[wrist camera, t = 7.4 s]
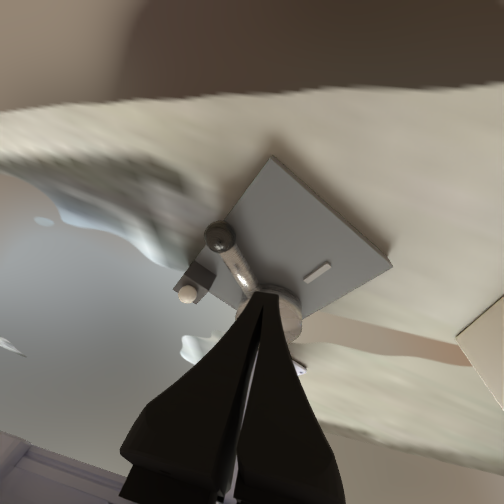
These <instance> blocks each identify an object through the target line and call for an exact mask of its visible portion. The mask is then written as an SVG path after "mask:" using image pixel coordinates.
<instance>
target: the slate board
mask: <svg viewBox="0 0 504 504" xmlns="http://www.w3.org/2000/svg"><path fill="white" fill-rule="evenodd" d="M224 221H225V222H227V223H229V224H230V225H232V226H233V228H234V229H235V231H236V236H237V239H236V244H237V246H238V247H239V249H240V251H241V253H242V254H243V256H244V258H245V260H246V261H247V263H248V265H249V266H250V268H251V270H252V272H253V273H254V275H255V277H256V278H257V280H258V282H259V284H272V285H277V286H280V287H283V288H285V289H287V290H289V291H291V292H292V293H293V294H294V295H295V296H296V297H297V298H298V299H299V301H300V303H301V306H302V319H304V318H306V317H307V316H309V315H311V314H313V313H314V312H316V311H318V310H320V309H321V308H323V307H325V306H327V305H328V304H330V303H332V302H334V301H335V300H337V299H339V298H340V297H342V296H344V295H346V294H347V293H349V292H351V291H353V290H354V289H356V288H358V287H360V286H361V285H363V284H365V283H366V282H368V281H370V280H372V279H373V278H375V277H377V276H379V275H380V274H382V273H384V272H385V271H387V270H389V269H391V268H392V267H393V265H392V264H391V262H390V260H389V259H388V257H387V256H386V255H385V254H383V253H382V252H381V251H380V250H379V249H378V248H377V247H376V246H374V245H373V244H372V243H371V242H370V241H369V240H368V239H367V238H365V237H364V236H363V235H362V234H361V233H360V232H359V231H358V230H356V229H355V228H354V227H353V226H352V225H351V224H350V223H349V222H347V221H346V220H345V219H344V218H343V217H342V216H341V215H339V214H338V213H337V212H336V211H335V210H334V209H333V208H332V207H330V206H329V205H328V204H327V203H326V202H325V201H324V200H323V199H321V198H320V197H319V196H318V195H317V194H316V193H315V192H314V191H312V190H311V189H310V188H309V187H308V186H307V185H306V184H305V183H303V182H302V181H301V180H300V179H299V178H298V177H297V176H296V175H294V174H293V173H292V172H291V171H290V170H289V169H288V168H287V167H285V166H284V165H283V164H282V163H281V162H280V161H279V160H278V159H276V158H275V157H274V156H273V155H272V156H271V157H270V159H269V160H268V161H267V163H266V164H265V165H264V167H263V168H262V169H261V171H260V172H259V174H258V175H257V176H256V178H255V179H254V180H253V182H252V183H251V184H250V186H249V187H248V188H247V190H246V191H245V192H244V194H243V195H242V197H241V198H240V199H239V201H238V202H237V203H236V205H235V206H234V207H233V209H232V210H231V211H230V213H229V214H228V215H227V217H226V218H225V220H224ZM195 261H196V262H198V263H199V264H200V265H202V266H203V267H205V268H206V269H208V270H209V271H211V272H212V273H214V274H215V275H217V277H216V279H215V280H214V282H213V284H212V286H211V288H210V290H209V291H208V292H210V293H211V294H213V295H214V296H216V297H218V298H219V299H220V300H222V301H223V302H225V303H227V304H228V305H230V306H231V307H233V308H234V309H236V310H238V307H239V304H240V301H241V298H242V295H243V293H244V292H243V290H242V289H241V287H240V286H239V284H238V283H237V281H236V280H235V278H234V276H233V275H232V273H231V272H230V270H229V269H228V267H227V266H226V264H225V263H224V261H223V259H222V258H221V256H220V255H219V253H216V252H213V251H212V250H210V249H209V248H208V247H207V245H205V247H204V248H203V249H202V251H201V252H200V253H199V255H198V256H197V257H196V259H195Z"/></svg>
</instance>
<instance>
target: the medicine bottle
mask: <svg viewBox="0 0 504 504" xmlns="http://www.w3.org/2000/svg"><path fill="white" fill-rule="evenodd" d="M455 341H456V342H457V344H458V345H459V347H460V348H461V350H462V351H463V352H464V354H465V355H466V357H467V358H468V360H469V361H470V363H471V364H472V366H473V367H474V368H475V370H476V371H477V373H478V374H479V376H480V377H481V379H482V380H483V382H484V383H485V385H486V386H487V387H488V389H489V390H490V392H491V393H492V395H493V396H494V398H495V399H496V401H497V402H498V403H499V405H500V406H501V408H502V409H503V411H504V297H502V298H501V299H500V300H499V301H498V302H496V303H495V304H494V305H493V306H492V307H491V308H489V309H488V310H487V311H486V312H485V313H484V314H483V315H481V316H480V317H479V318H478V319H477V320H476V321H474V322H473V323H472V324H471V325H470V326H469V327H467V328H466V329H465V330H464V331H463V332H462V333H461V334H459V335H458V336H457V337H456V338H455Z"/></svg>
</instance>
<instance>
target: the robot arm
mask: <svg viewBox="0 0 504 504" xmlns="http://www.w3.org/2000/svg"><path fill="white" fill-rule="evenodd" d="M259 344H260V345H259ZM258 347H259V350H258ZM306 372H307V369H306V368H304V367H303V366H301V365H300V364H298V363H297V362H295V361H293V360H292V358H291V355H290V352H289V349H288V345H287V342H286V338H285V334H284V330H283V326H282V321H281V315H280V308H279V295H278V294H272V293H265V292H259V291H255V292H253V294H252V296H251V298H250V300H249V302H248V303H247V305H246V307H245V308H244V310H243V311H242V313H241V314H240V315H239V317H238V318H237V320H236V321H235V322H234V324H233V325H232V326H231V327H230V329H229V330H228V331H227V332H226V334H225V335H224V336H223V337H222V338H221V339H220V340H219V342H218V343H217V344H216V345H215V346H214V347H213V348H212V349H211V350H210V351H209V352H208V353H207V354H206V355H205V356H204V357H203V358H202V359H201V360H200V361H199V362H198V363H197V364H196V365H195V366H194V367H193V368H191V369H190V370H189V371H188V372H187V373H185V374H184V375H183V376H182V377H181V378H180V379H179V380H178V381H176V382H175V383H174V384H173V385H171V386H170V387H169V388H167V389H166V390H165V391H164V392H162V393H161V394H160V395H158V396H157V397H156V398H155V399H153V400H152V401H150V402H149V403H148V404H147V405H146V407H145V408H144V409H143V411H142V412H141V414H140V415H139V417H138V418H137V420H136V421H135V422H134V424H133V426H132V428H131V430H130V431H129V433H128V435H127V437H126V439H125V441H124V442H123V444H122V446H121V448H120V454H121V455H122V456H123V457H124V458H125V459H126V460H128V461H129V462H131V463H132V464H133V466H132V468H131V470H130V473H129V475H128V477H124V476H122V475H119V474H116V473H113V472H110V471H107V470H104V469H101V468H98V467H95V466H92V465H89V464H87V463H84V462H81V461H78V460H75V459H72V458H69V457H66V456H63V455H60V454H57V453H55V452H52V451H49V450H46V449H43V448H40V447H37V446H34V445H31V443H30V442H28V441H26V440H24V439H22V438H20V437H17V436H14V435H11V434H8V433H6V432H3V431H0V504H346V502H345V495H344V489H343V484H342V480H341V476H340V473H339V470H338V466H337V463H336V460H335V456H334V453H333V451H332V449H331V447H330V445H329V443H328V441H327V440H326V437H325V435H324V434H323V431H322V429H321V427H320V425H319V423H318V421H317V419H316V417H315V415H314V413H313V410H312V408H311V406H310V404H309V402H308V399H307V397H306V394H305V392H304V390H303V387H302V385H301V383H300V380H299V378H298V376H299V375H302V374H304V373H306Z"/></svg>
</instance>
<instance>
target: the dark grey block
mask: <svg viewBox="0 0 504 504" xmlns="http://www.w3.org/2000/svg"><path fill="white" fill-rule="evenodd" d="M216 277H217V275H215V274H214V273H212V272H211V271H209V270H208V269H206V268H205V267H203V266H202V265H200V264H199V263H198V262H196V261H195V260H194V261H193V263H192V264H191V265H190V267H189V268H188V269H187V271H186V272H185V273H184V275H183V276H182V277H181V279H180V280H179V282H178V283H177V284H176V286H175V287H174V288H173V290H174V291H176V292H178V296H179V299H180V300H181V301H182V302H183V303H191V302H193V303H195V304H197V303H198V302H199V301H200V300H201V298H203V297H204V295H206V293H207V292H208V291H209V290H210V288H211V286H212V284H213V282H214V280H215V279H216Z"/></svg>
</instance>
